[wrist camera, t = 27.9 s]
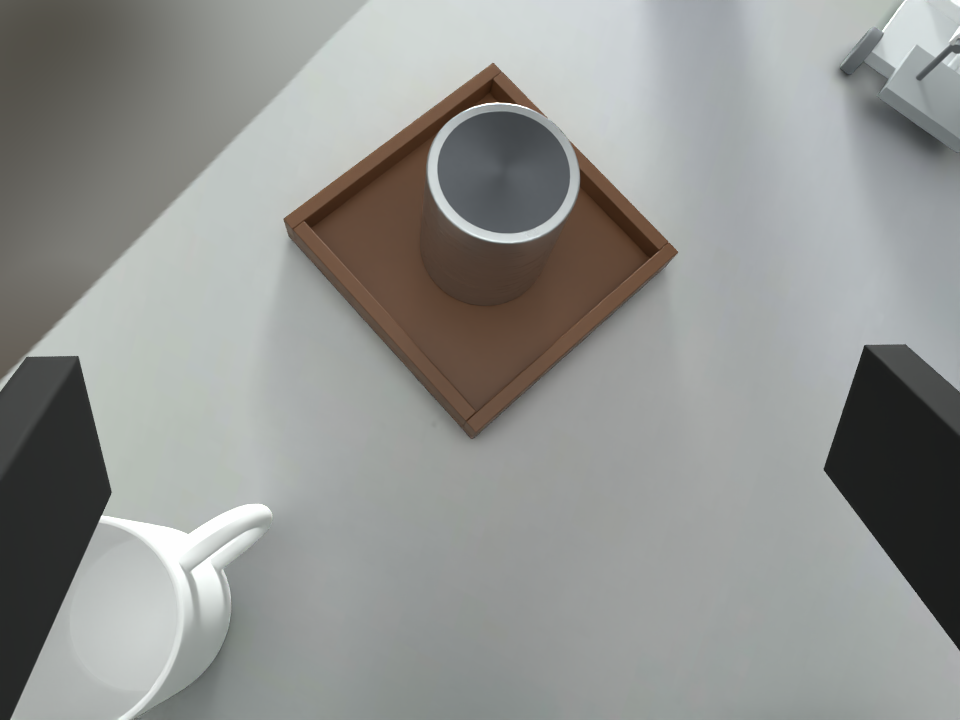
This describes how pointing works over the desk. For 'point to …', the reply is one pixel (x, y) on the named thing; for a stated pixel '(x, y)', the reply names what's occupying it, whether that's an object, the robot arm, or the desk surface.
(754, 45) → the desk surface
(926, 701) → the desk surface
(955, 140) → the toy car
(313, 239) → the tray
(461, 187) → the silver cup
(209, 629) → the cup
